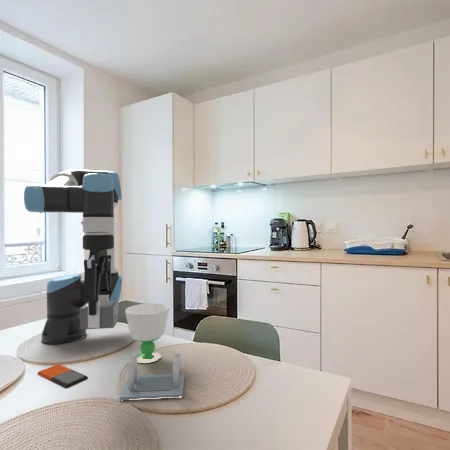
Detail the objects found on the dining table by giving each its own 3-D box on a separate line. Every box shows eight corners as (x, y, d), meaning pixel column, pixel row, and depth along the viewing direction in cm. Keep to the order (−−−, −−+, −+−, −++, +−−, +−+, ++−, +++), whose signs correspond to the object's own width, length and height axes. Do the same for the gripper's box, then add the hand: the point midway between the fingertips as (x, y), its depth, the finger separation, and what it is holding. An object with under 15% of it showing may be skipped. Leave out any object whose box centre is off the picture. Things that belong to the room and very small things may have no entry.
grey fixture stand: (130, 379, 86) (130, 349, 86) (184, 376, 87) (184, 348, 87) (119, 401, 75) (119, 368, 75) (182, 398, 76) (182, 365, 76)
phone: (59, 362, 95) (88, 375, 87) (59, 367, 95) (88, 380, 87) (36, 371, 89) (66, 385, 81) (36, 375, 89) (66, 390, 81)
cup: (155, 370, 91) (154, 316, 91) (115, 364, 95) (115, 312, 95) (177, 352, 104) (176, 304, 104) (141, 347, 108) (141, 301, 108)
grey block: (85, 322, 83) (85, 301, 83) (118, 320, 84) (118, 300, 84) (78, 329, 77) (78, 307, 77) (113, 327, 78) (113, 305, 78)
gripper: (96, 233, 90) (97, 313, 90) (67, 235, 71) (67, 336, 71) (123, 233, 91) (123, 312, 91) (100, 234, 72) (101, 335, 71)
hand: (98, 323), depth 81 cm, fingers closed on grey block, 6 cm apart
